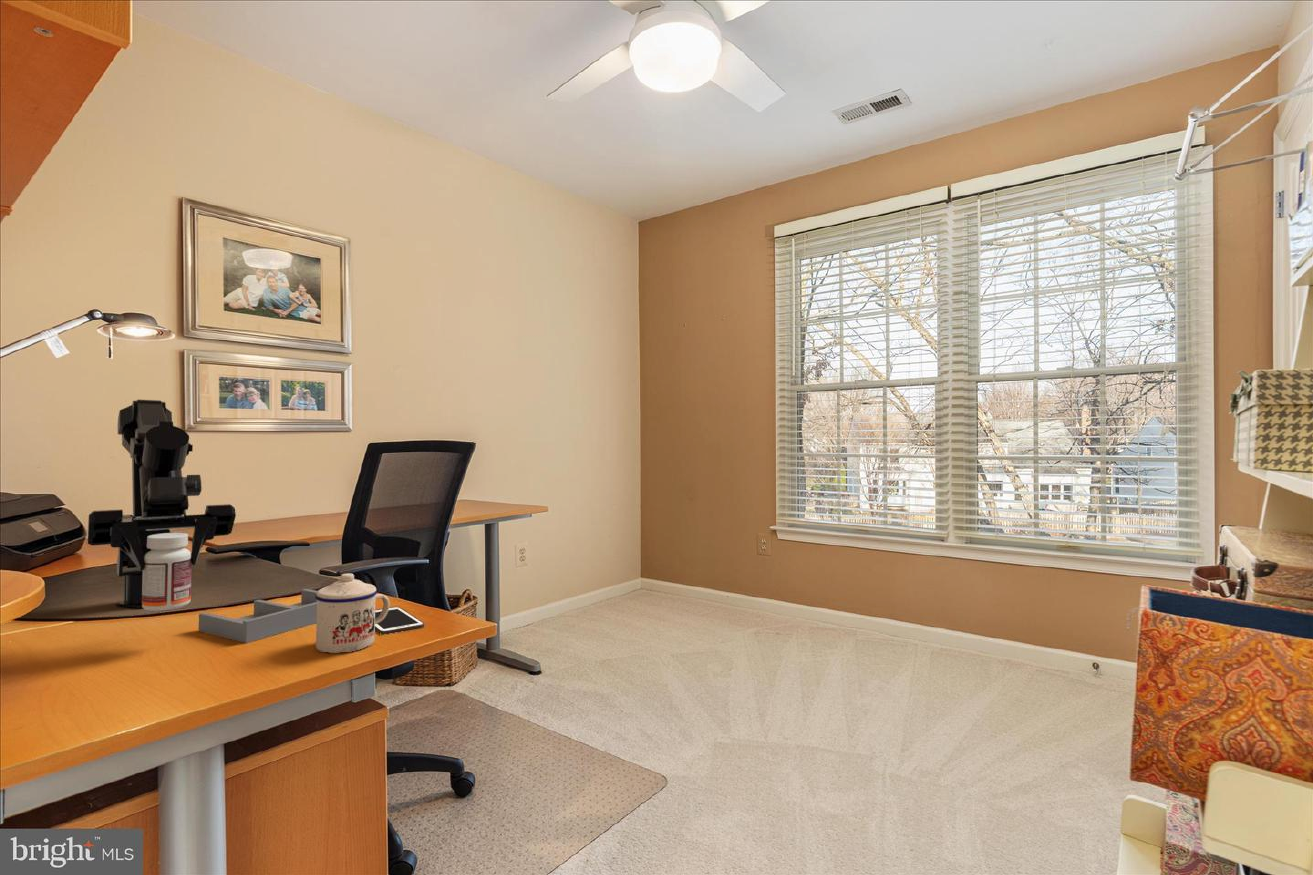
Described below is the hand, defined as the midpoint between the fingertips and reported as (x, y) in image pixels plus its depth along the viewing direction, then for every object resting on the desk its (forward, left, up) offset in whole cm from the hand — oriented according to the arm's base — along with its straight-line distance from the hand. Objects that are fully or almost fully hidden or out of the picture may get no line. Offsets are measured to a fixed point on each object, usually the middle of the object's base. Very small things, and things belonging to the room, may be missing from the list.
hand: (168, 566), depth 98 cm
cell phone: (+23, +24, -14) cm, 36 cm away
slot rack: (+4, +17, -13) cm, 22 cm away
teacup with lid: (+25, +12, -13) cm, 31 cm away
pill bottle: (-1, +1, -7) cm, 7 cm away
